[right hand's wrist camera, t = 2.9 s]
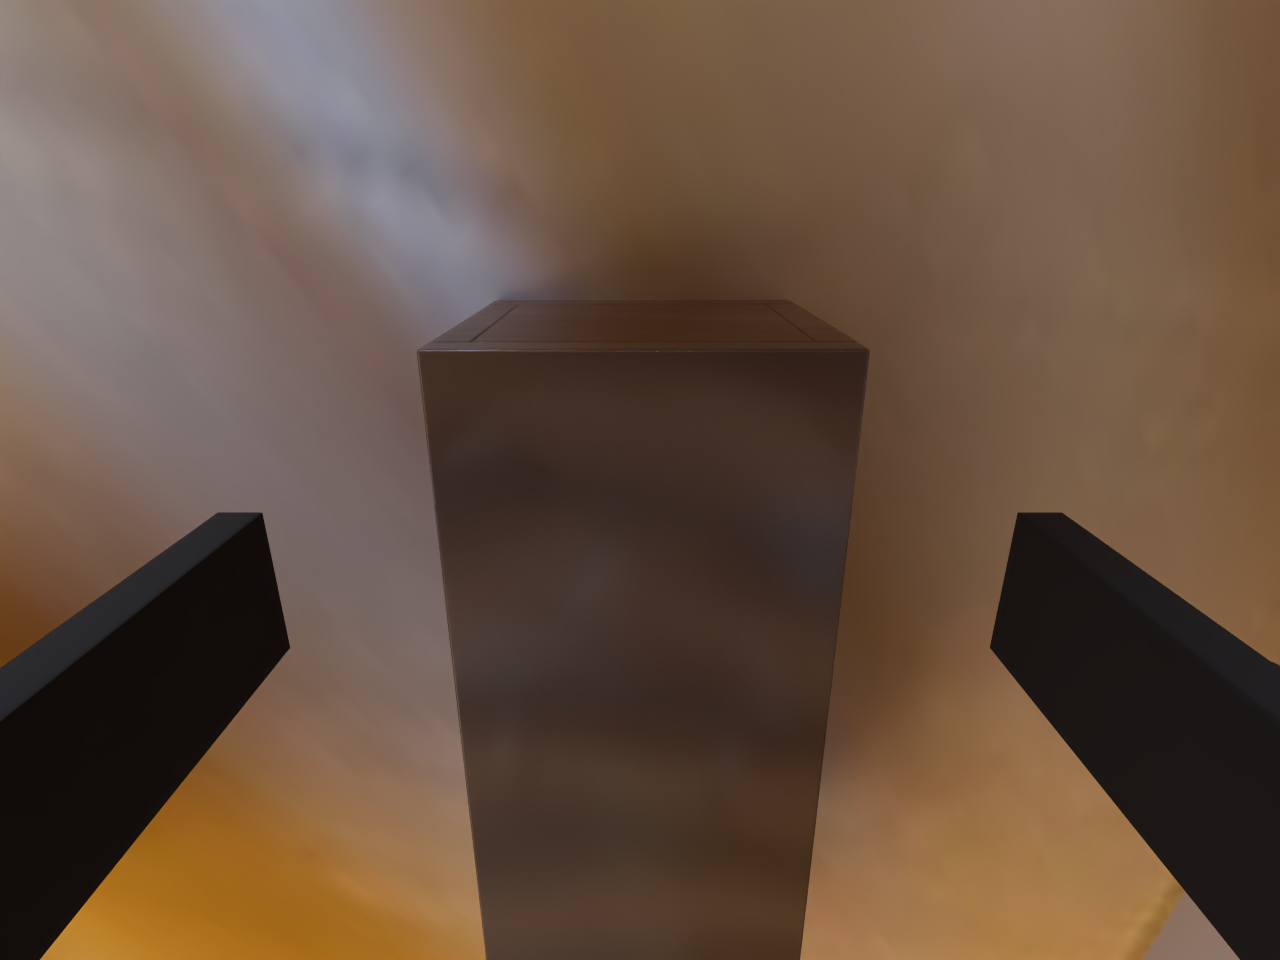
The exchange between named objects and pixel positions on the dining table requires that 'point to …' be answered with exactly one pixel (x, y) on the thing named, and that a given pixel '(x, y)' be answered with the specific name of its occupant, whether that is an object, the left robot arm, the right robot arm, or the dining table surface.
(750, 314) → the cabinet
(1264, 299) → the dining table surface
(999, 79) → the dining table surface
